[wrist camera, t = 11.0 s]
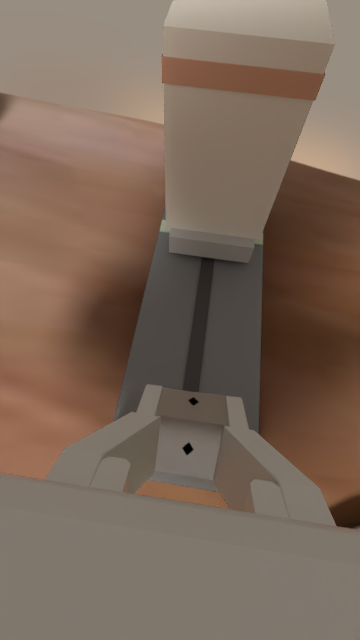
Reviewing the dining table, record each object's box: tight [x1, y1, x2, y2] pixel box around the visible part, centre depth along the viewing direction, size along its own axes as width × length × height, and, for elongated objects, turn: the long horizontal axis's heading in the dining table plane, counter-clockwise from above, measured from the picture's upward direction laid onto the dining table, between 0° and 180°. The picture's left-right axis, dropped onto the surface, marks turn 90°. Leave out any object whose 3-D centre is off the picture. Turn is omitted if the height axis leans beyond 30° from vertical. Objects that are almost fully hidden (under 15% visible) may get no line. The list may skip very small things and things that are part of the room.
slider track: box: [113, 205, 264, 492], centre depth 18 cm, size 20×7×4 cm, turn 172°
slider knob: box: [162, 0, 335, 263], centre depth 15 cm, size 5×6×10 cm
